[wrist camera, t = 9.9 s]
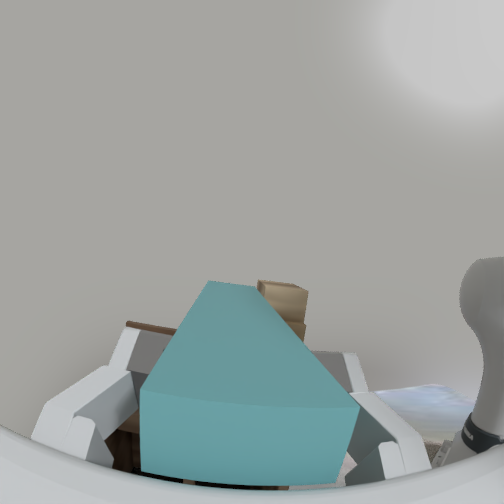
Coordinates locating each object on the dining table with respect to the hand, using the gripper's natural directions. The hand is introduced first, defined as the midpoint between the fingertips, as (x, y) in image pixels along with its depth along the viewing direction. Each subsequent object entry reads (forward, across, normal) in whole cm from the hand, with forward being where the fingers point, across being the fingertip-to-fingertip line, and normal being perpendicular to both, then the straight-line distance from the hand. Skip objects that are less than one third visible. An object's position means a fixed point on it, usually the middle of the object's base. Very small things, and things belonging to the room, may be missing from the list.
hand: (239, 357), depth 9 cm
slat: (+5, 0, +5) cm, 7 cm away
